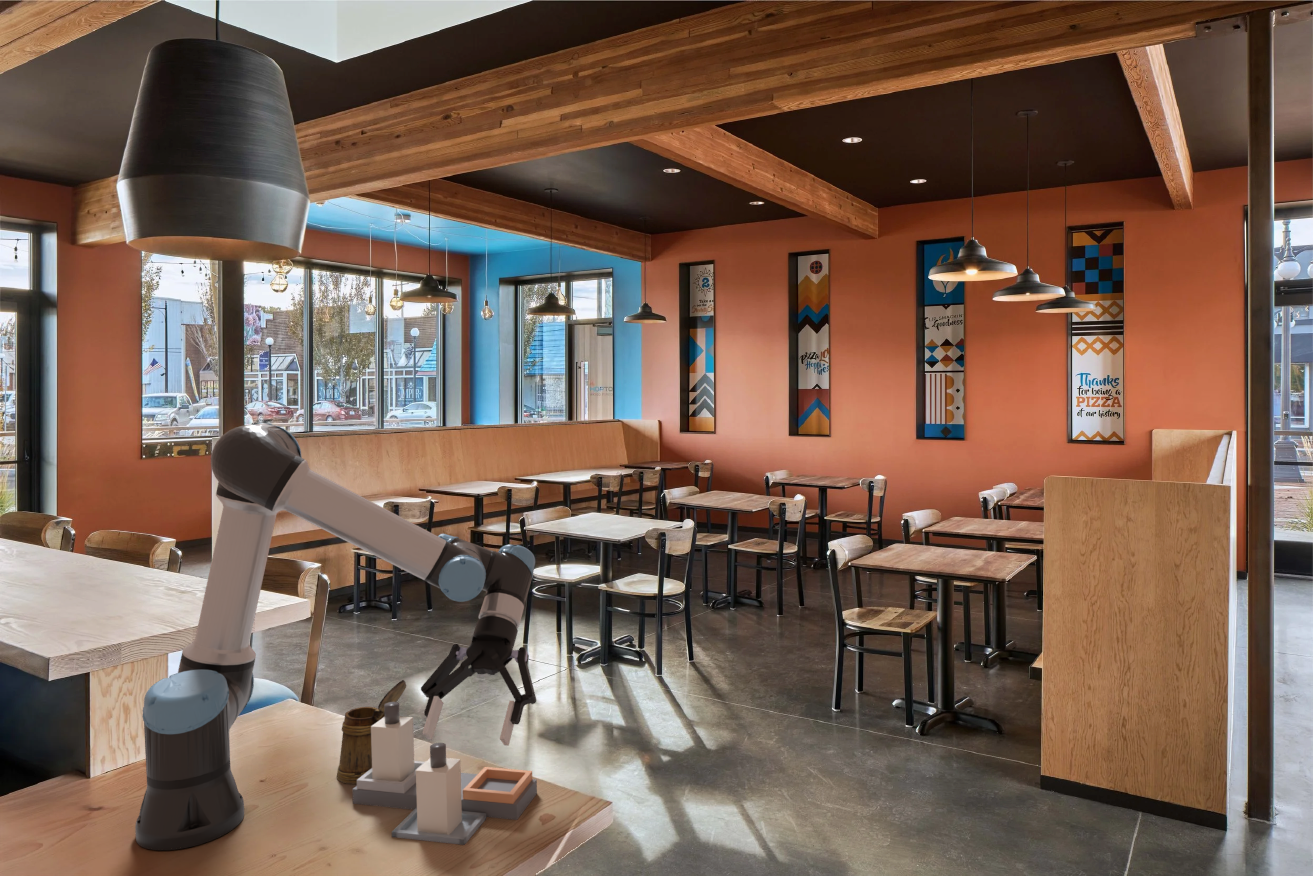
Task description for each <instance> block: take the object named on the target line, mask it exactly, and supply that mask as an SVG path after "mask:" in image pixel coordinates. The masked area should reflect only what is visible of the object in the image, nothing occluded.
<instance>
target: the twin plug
mask: <svg viewBox="0 0 1313 876" xmlns="http://www.w3.org/2000/svg"><path fill="white" fill-rule="evenodd" d="M384 712H385V717H383V718H382V719H381V720H379V721H378V722H376V723H375V724H374V725H372V726H371V747H372V779H376V780H387V781H398V782H402V781H404V780H405V779H406V778H407V777H408V776H409V775H410V774H411V773H413V772H414V771H415V770H414V761H415V744H414V741H415V740H414V737H415V736H414V734H415V733H414V716H413V717H412V716H404V715H403V716H402V715H400V702H398V701H397V702H389V703H386V704H385V705H384Z"/></svg>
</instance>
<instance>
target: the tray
mask: <svg viewBox="0 0 1313 876" xmlns="http://www.w3.org/2000/svg"><path fill="white" fill-rule="evenodd" d="M486 820H487V817H486V813H477V812H467V811H462V821H461V823H460V824H459V825H458V826H457V827H456V828H455V829H454V830H453V832H452V833H451V834H450V835H446V834H437V833H427V832H418V830H417V807H416V808H415V809H414V810H412V811H411V812H410V813H409V814H408V815H407V816H406V817H405V818H404V819H403V820H402V821H401V822H400V823H399V824H398V825H397V826H396V827H395V828H394V829H393V830H392V831H391V838H397V839H407V840H416V841H425V842H434V843H443V844H445V843H446V844H452V845H462V846H465V845H466V844H467V843H468V842H469V841H470V840H471V838H472V836H474V834H475V833H476V832H477V830H478V829H480V827H481V826H482V824H483V823H485V821H486Z"/></svg>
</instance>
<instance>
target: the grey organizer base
mask: <svg viewBox="0 0 1313 876" xmlns="http://www.w3.org/2000/svg"><path fill="white" fill-rule="evenodd" d="M425 762H426V761H420V760H414V770H415V771H414V772H413V773H411V774H410V775H409V776H408V777H407V778H406V779H405V780H404V781H402V782H398V781H387V780H376V779H372V768H371V769H370V770H369V771H367V772H366V773H365V774H364V775H362V776H361V777H360V778H359V779H357V784H356V785H355V787H353V788H352V791H351V792H352V804H356V805H362V806H363V805H364V806H374V807H385V808H393V809H403V810H404V809H405V810H412V811H413V810H414V809H415V808H416V807H417V794H416V770H417V769H418V768H419V767H420V766H421V765H423V764H424V763H425ZM537 781H538V780H537V779H536V778H533V770H525V769H516V768H515V769H513V768H503V767H502V768H501V767H491V766H483V768H482V769H481V770H480V771H479V772H478V773H467V772H461V803H462V811H467V812H477V813H486V818H493V819H502V820H503V819H505V820H515V821H518V820H519V818H520V816H521V815H522V814H523V813H524V811H525V810H526V809H527V808H528V806H529V805H530V804H531V803H532V801H533V799H534V798H535V797H536V796H537V794H538V782H537Z"/></svg>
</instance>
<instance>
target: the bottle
mask: <svg viewBox="0 0 1313 876" xmlns="http://www.w3.org/2000/svg"><path fill="white" fill-rule="evenodd" d="M429 755H430V756H429V758H428V759H427V760H426V761H424V762H425V763H424V764H423V765H421V766H420V767H419V768H418V769H417V770H416V794H417V830H418V832H427V833H437V834H446V835H450V834H451V833H452V832H453V830H454V829H455V828H456V827H457V826H458V825H459V824H460V823H461V821H462V803H461V773H462V770H461V769H462V768H461V766H462V765H461V759H460V758H452V757H451V758H450V757H447V744H446V743H445V742H435V743H431V744H430V745H429Z"/></svg>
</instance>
